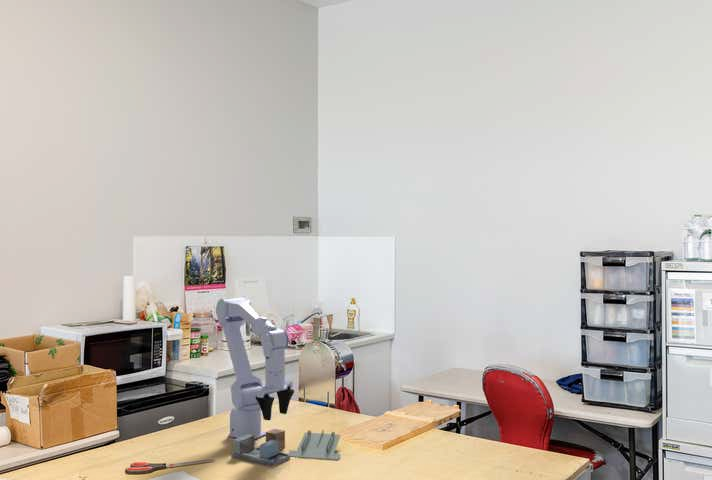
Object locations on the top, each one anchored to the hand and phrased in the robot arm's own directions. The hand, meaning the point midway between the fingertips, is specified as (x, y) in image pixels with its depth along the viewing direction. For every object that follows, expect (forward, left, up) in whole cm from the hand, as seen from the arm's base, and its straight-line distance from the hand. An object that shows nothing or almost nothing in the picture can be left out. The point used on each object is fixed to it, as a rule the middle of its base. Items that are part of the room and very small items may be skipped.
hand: (275, 416), depth 199 cm
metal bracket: (+13, +4, -10) cm, 17 cm away
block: (0, 0, -9) cm, 9 cm away
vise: (+2, -9, -9) cm, 13 cm away
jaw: (+5, -9, -8) cm, 13 cm away
